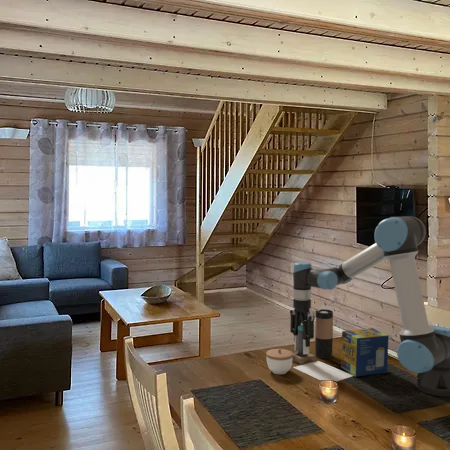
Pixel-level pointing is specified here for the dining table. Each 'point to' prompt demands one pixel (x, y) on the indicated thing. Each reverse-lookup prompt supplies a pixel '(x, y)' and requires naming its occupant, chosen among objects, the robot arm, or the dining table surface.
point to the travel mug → (324, 333)
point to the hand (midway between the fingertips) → (301, 351)
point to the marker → (300, 340)
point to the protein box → (364, 352)
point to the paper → (323, 371)
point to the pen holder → (303, 358)
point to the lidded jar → (279, 360)
